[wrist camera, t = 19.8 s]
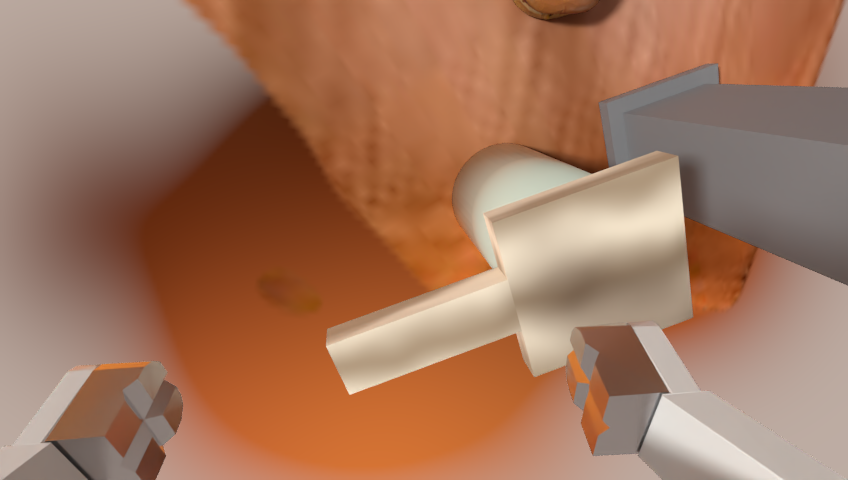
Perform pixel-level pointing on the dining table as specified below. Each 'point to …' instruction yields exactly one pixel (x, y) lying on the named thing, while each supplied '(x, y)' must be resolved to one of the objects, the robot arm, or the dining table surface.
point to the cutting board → (543, 278)
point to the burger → (554, 7)
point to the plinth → (748, 159)
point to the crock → (503, 186)
